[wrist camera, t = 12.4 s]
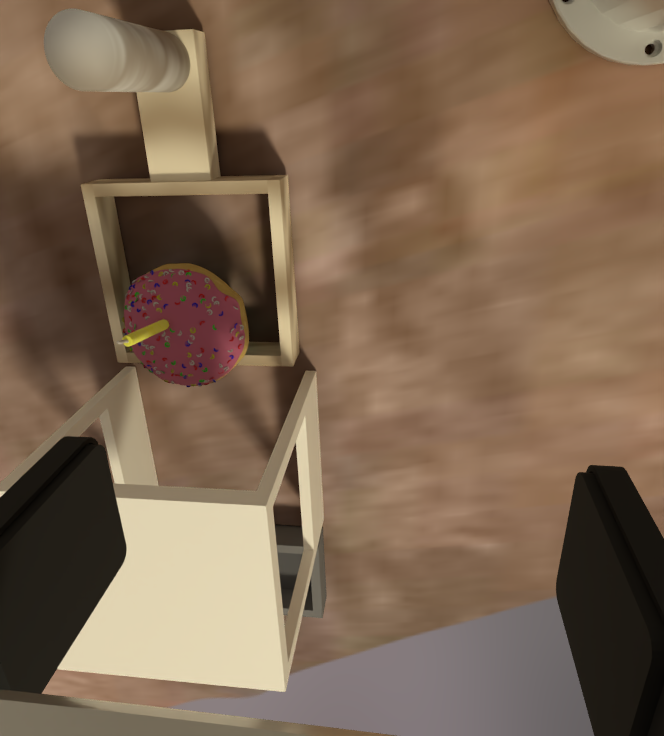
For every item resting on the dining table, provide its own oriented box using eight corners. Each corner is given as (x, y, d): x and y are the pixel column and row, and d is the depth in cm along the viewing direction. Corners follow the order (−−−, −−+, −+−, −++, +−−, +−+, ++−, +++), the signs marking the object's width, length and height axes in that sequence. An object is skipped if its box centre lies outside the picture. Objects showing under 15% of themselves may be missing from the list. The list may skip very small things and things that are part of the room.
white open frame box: (125, 366, 46) (-9, 490, 32) (316, 370, 44) (266, 506, 30) (154, 508, 52) (52, 668, 38) (323, 518, 50) (285, 691, 35)
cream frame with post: (72, 40, 36) (-67, 17, 26) (278, 28, 34) (218, -2, 24) (132, 349, 45) (47, 425, 35) (299, 352, 43) (261, 434, 33)
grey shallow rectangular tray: (158, 517, 52) (146, 536, 50) (322, 527, 50) (318, 547, 48) (171, 584, 56) (161, 604, 54) (326, 596, 54) (322, 617, 52)
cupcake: (131, 275, 43) (34, 336, 32) (228, 228, 40) (158, 276, 30) (190, 373, 46) (120, 458, 35) (284, 334, 43) (240, 413, 32)
